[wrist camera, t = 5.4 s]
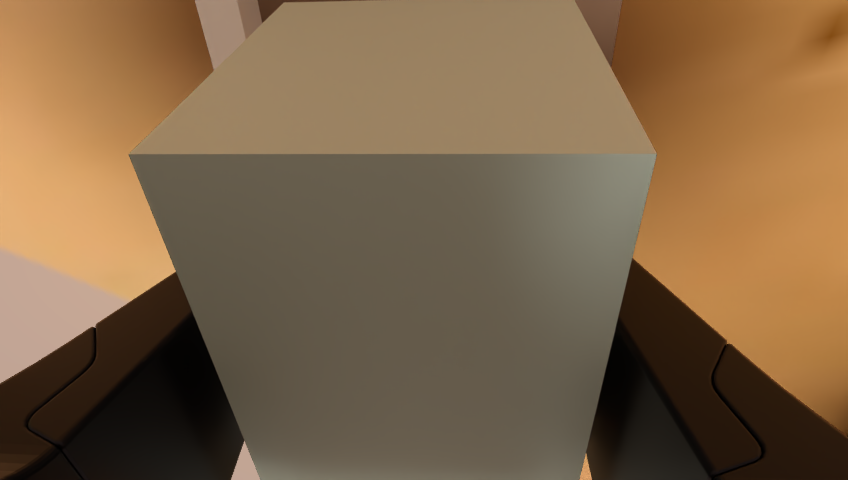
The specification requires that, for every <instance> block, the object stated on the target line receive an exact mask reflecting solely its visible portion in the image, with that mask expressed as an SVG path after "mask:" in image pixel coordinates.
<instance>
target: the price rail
mask: <svg viewBox="0 0 848 480" xmlns="http://www.w3.org/2000/svg"><path fill="white" fill-rule="evenodd" d="M195 3H196V7H197V10H198V14H199V18H200V21H201V25H202V29H203V32H204V36H205V40H206V43H207V47H208V51H209V54H210V58H211V61H212V65H213V69H214V70H215V69H216V68H217V67H218V66H219V65H220V64H221V63H222V62H223V61H224V60H225V59H226V58H228V57H229V56H230V55H231V54H232V53H233V52H234V51H235V50H236V49H237V48H238V47H239V46H240V45H241V44H242V43H243V42H244V41H245V40H246V39H247V38H248V37H249V36H250V35H251V34H252V33H253V32H254V31H255V30H256V29H257V28H258V27H259V26H260V25H261V24H262V20H261V15H260V10H259V5H258V1H257V0H195Z"/></svg>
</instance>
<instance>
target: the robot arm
mask: <svg viewBox="0 0 848 480" xmlns="http://www.w3.org/2000/svg"><path fill="white" fill-rule="evenodd" d="M726 344H727V340H726V339H725V338H723V337H722V336H721V335H720V334H719V333H718V332H717V331H715V330H714V329H713V328H712V327H711V326H710V325H709V324H707V323H706V322H705V321H704V320H703V319H702V318H701V317H699V316H698V315H697V314H696V313H695V312H694V311H693V310H691V309H690V308H689V307H688V306H687V305H686V304H685V303H683V302H682V301H681V300H680V299H679V298H678V297H676V296H675V295H674V294H673V293H672V292H671V291H670V290H668V289H667V288H666V287H665V286H664V285H663V284H662V283H660V282H659V281H658V280H657V279H656V278H655V277H654V276H652V275H651V274H650V273H649V272H648V271H647V270H646V269H644V268H643V267H642V266H641V265H640V264H639V263H638V262H636V261H635V260H634V259H633V258H632V261H631V265H630V269H629V274H628V278H627V282H626V286H625V290H624V295H623V299H622V303H621V307H620V311H619V316H618V320H617V324H616V328H615V332H614V337H613V341H612V345H611V349H610V353H609V358H608V362H607V366H606V370H605V374H604V379H603V383H602V387H601V391H600V395H599V400H598V404H597V408H596V412H595V416H594V421H593V425H592V429H591V433H590V437H589V442H588V446H587V450H586V454H587V459H588V463H589V468H590V472H591V477H592V480H848V436H847V435H845V434H844V433H842V432H841V431H840V430H838V429H837V428H836V427H834V426H833V425H832V424H830V423H829V422H828V421H826V420H825V419H823V418H822V417H821V416H819V415H818V414H817V413H815V412H814V411H813V410H811V409H810V408H809V407H808V406H806V405H805V404H804V403H802V402H801V401H800V400H798V399H797V398H796V397H794V396H793V395H792V394H791V393H789V392H788V391H787V390H785V389H784V388H783V387H781V386H780V385H779V384H778V383H777V382H775V381H774V380H773V379H772V378H771V377H769V376H768V375H767V374H766V373H765V372H763V371H762V370H761V369H760V368H759V367H757V366H756V365H755V364H754V363H753V362H751V361H750V360H749V359H748V358H747V357H746V356H744V355H743V354H742V353H741V352H740V351H739V350H737V349H736V348H735V347H734V346H733V345H732V344H727V345H726ZM243 443H244V438H243V435H242V433H241V430H240V428H239V425H238V423H237V421H236V418H235V416H234V413H233V411H232V408H231V406H230V403H229V401H228V398H227V396H226V393H225V391H224V388H223V386H222V384H221V381H220V379H219V376H218V374H217V371H216V369H215V366H214V364H213V361H212V359H211V356H210V354H209V351H208V349H207V347H206V344H205V342H204V339H203V337H202V334H201V332H200V329H199V327H198V324H197V322H196V319H195V317H194V314H193V312H192V310H191V307H190V305H189V302H188V300H187V297H186V295H185V292H184V290H183V287H182V285H181V282H180V280H179V277H178V275H177V273H176V272H175V273H173V274H172V275H170V276H169V277H167V278H166V279H164V280H163V281H161V282H159V283H158V284H156V285H155V286H153V287H152V288H150V289H149V290H147V291H146V292H144V293H143V294H141V295H140V296H138V297H137V298H135V299H133V300H132V301H130V302H129V303H127V304H126V305H124V306H123V307H121V308H120V309H119V310H117V311H115V312H114V313H112V314H111V315H109V316H108V317H106V318H104V319H103V320H101V321H100V322H98V323H97V324H96V328H94V327H91V328H89V329H88V330H86V331H85V332H83V333H82V334H80V335H78V336H77V337H75V338H74V339H72V340H71V341H69V342H68V343H66V344H65V345H63V346H61V347H60V348H58V349H57V350H55V351H53V352H52V353H50V354H49V355H47V356H46V357H44V358H42V359H41V360H39V361H38V362H36V363H34V364H33V365H31V366H29V367H27V368H26V369H24V370H22V371H21V372H19V373H17V374H15V375H14V376H12V377H10V378H9V379H7V380H5V381H4V382H2V383H0V480H231V477H232V475H233V472H234V469H235V466H236V463H237V460H238V457H239V454H240V452H241V449H242V446H243Z"/></svg>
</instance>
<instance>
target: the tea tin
mask: <svg viewBox="0 0 848 480" xmlns="http://www.w3.org/2000/svg"><path fill="white" fill-rule="evenodd" d="M656 156H657V153H656V151H655V149H654V147H653V145H652V143H651V142H650V140H649V138H648V136H647V134H646V132H645V130H644V129H643V127H642V125H641V123H640V121H639V119H638V117H637V116H636V114H635V112H634V110H633V108H632V106H631V104H630V103H629V101H628V99H627V97H626V95H625V93H624V91H623V89H622V88H621V86H620V84H619V82H618V80H617V78H616V76H615V75H614V73H613V71H612V69H611V67H610V65H609V63H608V62H607V60H606V58H605V56H604V54H603V52H602V50H601V48H600V47H599V45H598V43H597V41H596V39H595V37H594V35H593V34H592V32H591V30H590V28H589V26H588V24H587V22H586V21H585V19H584V17H583V15H582V13H581V11H580V9H579V8H578V6H577V4H576V2H575V0H367V1H325V2H284V3H283V4H282V5H281V6H280V7H279V8H278V9H277V10H276V11H275V12H274V13H273V14H272V15H270V16H269V17H268V18H267V19H266V20H265V21H264V22H263V23H262V24H261V25H260V26H259V27H258V28H257V29H256V30H255V31H254V32H253V33H252V34H251V35H250V36H249V37H248V38H247V39H246V40H245V41H244V42H243V43H242V44H241V45H240V46H239V47H238V48H237V49H236V50H235V51H234V52H233V53H232V54H231V55H230V56H229V57H228V58H226V59H225V60H224V61H223V62H222V63H221V64H220V65H219V66H218V67H217V68H216V69H215V70H214V71H213V72H212V73H211V74H210V75H209V76H208V77H207V78H206V79H205V80H204V81H203V82H202V83H201V84H200V85H199V86H198V87H197V88H196V89H195V90H194V91H193V92H192V93H191V94H190V95H189V96H188V97H187V98H186V99H185V100H184V101H182V102H181V103H180V104H179V105H178V106H177V107H176V108H175V109H174V110H173V111H172V112H171V113H170V114H169V115H168V116H167V117H166V118H165V119H164V120H163V121H162V122H161V123H160V124H159V125H158V126H157V127H156V128H155V129H154V130H153V131H152V132H151V133H150V134H149V135H148V136H147V137H146V138H145V139H144V140H143V141H142V142H141V143H140V144H138V145H137V146H136V147H135V148H134V149H133V150H132V151H131V152H130V153H129V157H130V159H131V162H132V164H133V166H134V169H135V171H136V174H137V176H138V179H139V181H140V184H141V186H142V189H143V191H144V194H145V196H146V199H147V201H148V203H149V206H150V208H151V211H152V213H153V216H154V218H155V221H156V223H157V226H158V228H159V231H160V233H161V236H162V238H163V240H164V243H165V245H166V248H167V250H168V253H169V255H170V258H171V260H172V263H173V265H174V268H175V270H176V273H177V275H178V277H179V280H180V282H181V285H182V287H183V290H184V292H185V295H186V297H187V300H188V302H189V305H190V307H191V310H192V312H193V314H194V317H195V319H196V322H197V324H198V327H199V329H200V332H201V334H202V337H203V339H204V342H205V344H206V347H207V349H208V351H209V354H210V356H211V359H212V361H213V364H214V366H215V369H216V371H217V374H218V376H219V379H220V381H221V384H222V386H223V388H224V391H225V393H226V396H227V398H228V401H229V403H230V406H231V408H232V411H233V413H234V416H235V418H236V421H237V423H238V425H239V428H240V430H241V433H242V435H243V438H244V440H245V443H246V445H247V448H248V450H249V453H250V455H251V458H252V460H253V462H254V465H255V467H256V470H257V472H258V475H259V477H260V480H579V479H580V475H581V471H582V467H583V463H584V458H585V454H586V450H587V446H588V442H589V437H590V433H591V429H592V425H593V421H594V416H595V412H596V408H597V404H598V400H599V395H600V391H601V387H602V383H603V379H604V374H605V370H606V366H607V362H608V358H609V353H610V349H611V345H612V341H613V337H614V332H615V328H616V324H617V320H618V316H619V311H620V307H621V303H622V299H623V295H624V290H625V286H626V282H627V278H628V274H629V269H630V265H631V261H632V257H633V253H634V248H635V244H636V240H637V236H638V232H639V227H640V223H641V219H642V215H643V211H644V206H645V202H646V198H647V194H648V190H649V185H650V181H651V177H652V173H653V169H654V164H655V160H656Z"/></svg>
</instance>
